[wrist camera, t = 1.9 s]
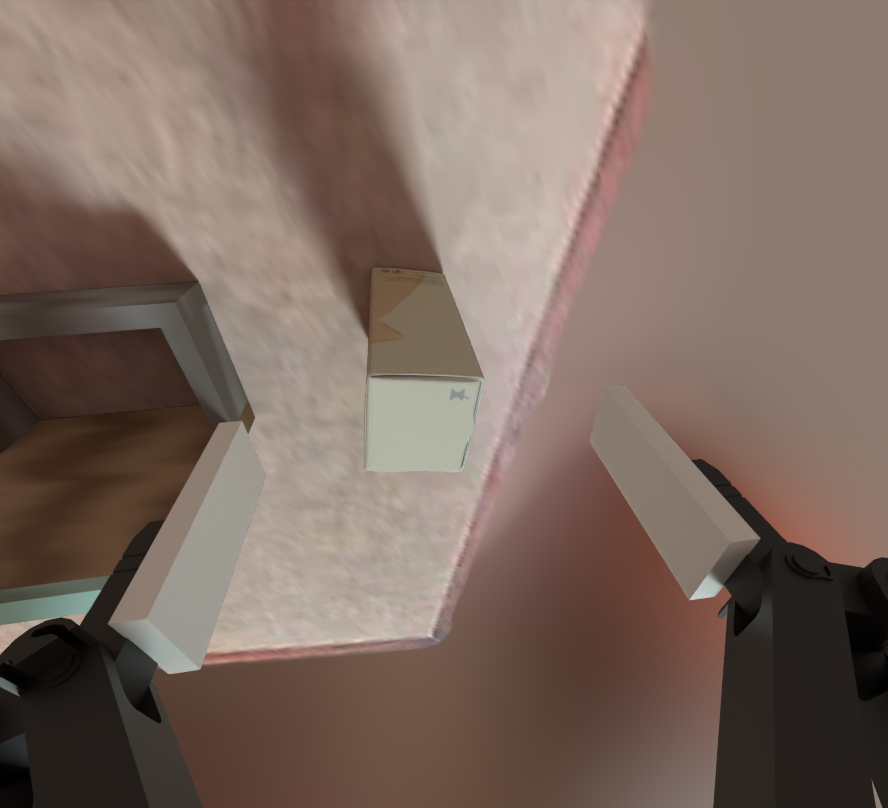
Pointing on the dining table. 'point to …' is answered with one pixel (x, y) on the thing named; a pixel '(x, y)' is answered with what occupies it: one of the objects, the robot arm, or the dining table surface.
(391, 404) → the box
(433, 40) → the dining table surface
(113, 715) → the robot arm
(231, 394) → the cleat board
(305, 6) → the dining table surface
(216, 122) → the dining table surface
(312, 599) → the dining table surface
